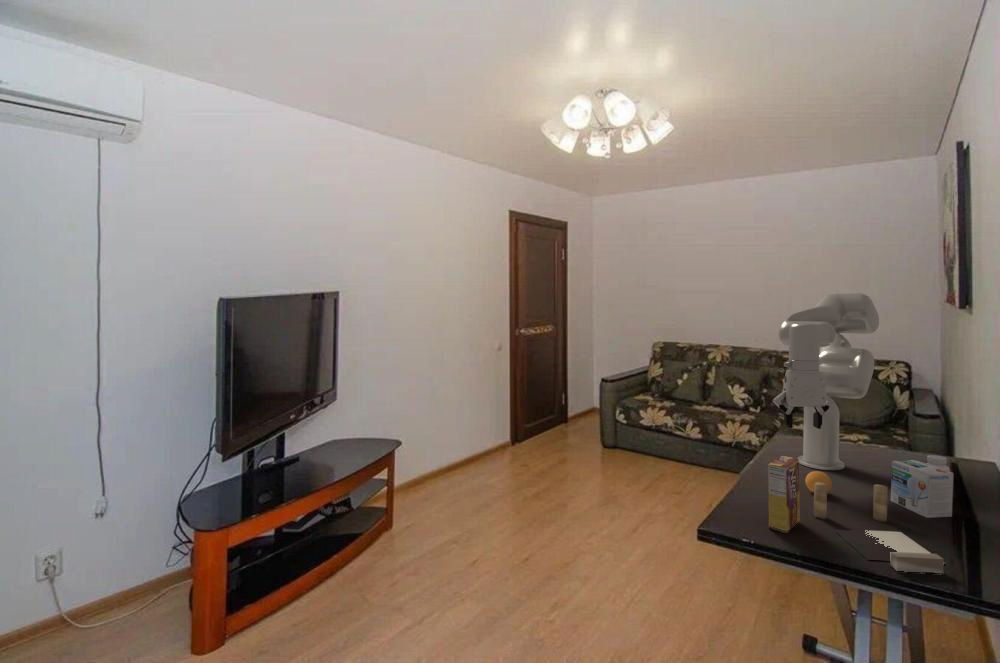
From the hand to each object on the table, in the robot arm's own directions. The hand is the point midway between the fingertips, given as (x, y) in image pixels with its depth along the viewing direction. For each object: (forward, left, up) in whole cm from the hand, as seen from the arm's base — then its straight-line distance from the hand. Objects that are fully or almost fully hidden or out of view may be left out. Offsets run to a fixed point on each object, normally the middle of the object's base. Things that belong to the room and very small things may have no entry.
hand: (802, 427), depth 146 cm
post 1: (+26, -7, -16) cm, 31 cm away
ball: (+10, 0, -13) cm, 16 cm away
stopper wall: (+50, 0, -16) cm, 52 cm away
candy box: (+32, -17, -16) cm, 40 cm away
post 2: (+26, +7, -16) cm, 31 cm away
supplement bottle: (+6, +31, -16) cm, 35 cm away
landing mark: (+40, 0, -16) cm, 43 cm away
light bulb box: (+18, +20, -16) cm, 31 cm away
